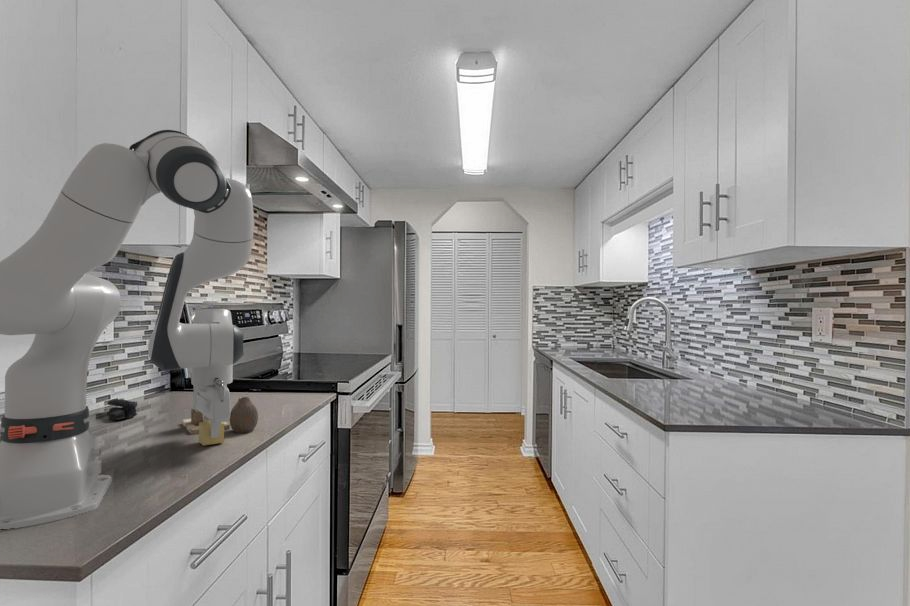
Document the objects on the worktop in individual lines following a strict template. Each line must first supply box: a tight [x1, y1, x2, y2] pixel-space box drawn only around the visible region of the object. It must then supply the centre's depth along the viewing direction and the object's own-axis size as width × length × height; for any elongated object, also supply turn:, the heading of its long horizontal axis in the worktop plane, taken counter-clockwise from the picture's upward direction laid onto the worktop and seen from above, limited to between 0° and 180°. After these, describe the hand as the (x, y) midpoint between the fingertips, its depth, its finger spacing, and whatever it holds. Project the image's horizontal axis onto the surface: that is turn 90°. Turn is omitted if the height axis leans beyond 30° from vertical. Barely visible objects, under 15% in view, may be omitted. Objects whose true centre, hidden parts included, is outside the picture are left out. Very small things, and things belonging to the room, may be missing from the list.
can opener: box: [107, 397, 139, 422], centre depth 146 cm, size 18×7×6 cm, turn 47°
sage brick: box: [192, 391, 200, 412], centre depth 134 cm, size 5×5×4 cm
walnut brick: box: [190, 408, 204, 426], centre depth 134 cm, size 6×6×4 cm
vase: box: [228, 396, 259, 434], centre depth 130 cm, size 7×7×9 cm
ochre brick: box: [198, 421, 225, 447], centre depth 118 cm, size 4×4×4 cm
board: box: [181, 418, 231, 435], centre depth 134 cm, size 14×9×1 cm, turn 37°
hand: (211, 434), depth 118 cm, fingers closed on ochre brick, 4 cm apart
